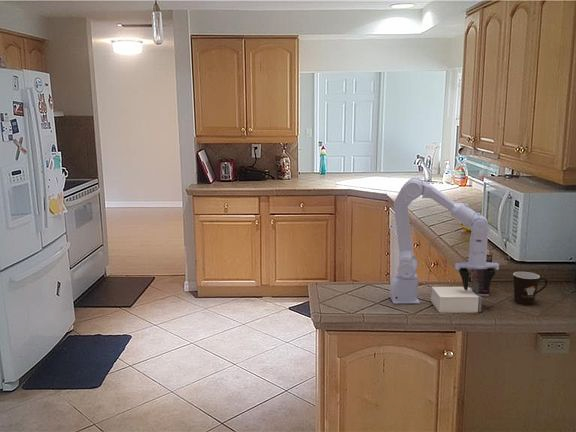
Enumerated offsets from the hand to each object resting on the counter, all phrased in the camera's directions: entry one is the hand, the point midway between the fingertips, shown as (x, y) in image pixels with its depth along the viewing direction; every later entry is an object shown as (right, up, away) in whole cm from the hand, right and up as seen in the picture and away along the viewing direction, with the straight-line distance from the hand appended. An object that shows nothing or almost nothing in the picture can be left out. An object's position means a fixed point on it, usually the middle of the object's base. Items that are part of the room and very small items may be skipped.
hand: (475, 289), depth 189 cm
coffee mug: (+21, -6, +5) cm, 22 cm away
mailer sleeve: (-7, -6, +1) cm, 10 cm away
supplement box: (+8, -4, +16) cm, 18 cm away
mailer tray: (-6, -6, +1) cm, 9 cm away
